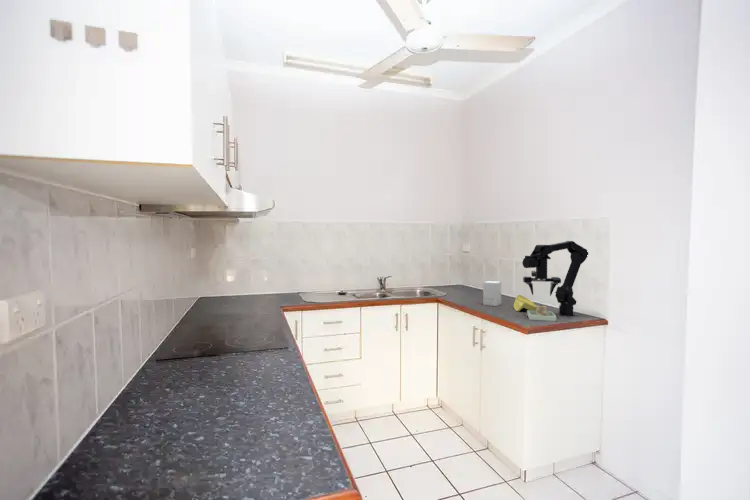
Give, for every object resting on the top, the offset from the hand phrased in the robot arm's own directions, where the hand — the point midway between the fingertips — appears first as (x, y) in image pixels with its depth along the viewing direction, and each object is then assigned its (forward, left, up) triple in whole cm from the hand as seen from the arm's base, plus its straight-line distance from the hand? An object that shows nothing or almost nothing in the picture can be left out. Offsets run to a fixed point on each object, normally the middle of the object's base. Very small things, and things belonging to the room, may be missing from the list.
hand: (541, 295), depth 206 cm
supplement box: (+26, -28, -12) cm, 40 cm away
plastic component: (+7, -18, -12) cm, 23 cm away
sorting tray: (+1, +4, -12) cm, 13 cm away
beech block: (+1, +4, -12) cm, 12 cm away
